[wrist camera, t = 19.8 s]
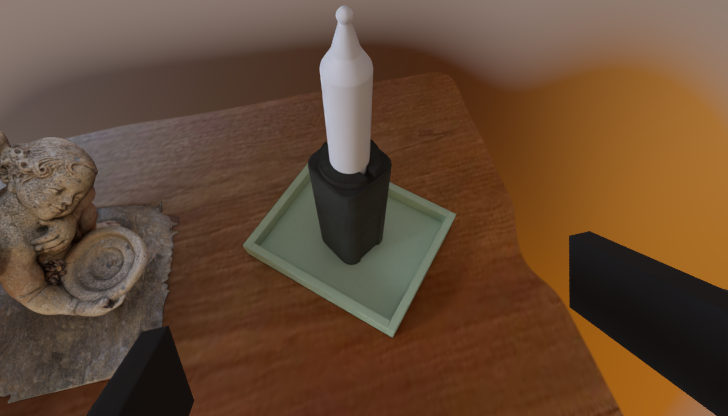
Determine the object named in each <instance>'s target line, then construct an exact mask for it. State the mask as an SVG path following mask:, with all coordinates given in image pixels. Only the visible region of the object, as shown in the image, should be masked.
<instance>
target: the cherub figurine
mask: <svg viewBox="0 0 728 416" xmlns="http://www.w3.org/2000/svg"><path fill="white" fill-rule="evenodd" d="M97 173H98V170H97V168H96V166H95V163H94V161H93V160H92V158H91V157H90V156H89V155H88V154H87V153H86V152H85V151H84V150H83V149H82V148H80V147H79V146H77V145H76V144H74V143H72V142H71V141H69V140H66V139H62V138H55V137H48V138H42V139H39V140H37V141H34V142H30V143H20V144H17V145H14V146H12V147H11V145H10V143H9V141H8V139H7V138H6V136H5V135H4V133H3V132H2V131H1V130H0V178H1V181H2V182H3V183H4V184H6V185H7V186H6V187H4V188H3V189H1V190H0V397H1V396H3V397H5V396H7V395H11V397H10V399H9V400H8V403H12V402H16V401H21V400H25V399H29V398H33V397H37V396H41V395H45V394H49V393H53V392H58V391H62V390H66V389H70V388H74V387H78V386H82V385H86V384H90V383H95V382H99V381H103V380H107V379H111V377H112V376H113V374H114V373H115V371H116V370H117V368H118V367H119V365H120V364H121V362H122V361H123V359H124V358H125V356H126V355H127V353H128V352H129V350H130V349H131V347H132V346H133V344H134V342H135V341H136V339H137V338H138V336H139V335H140V333H141V332H142V331H147V330H151V329H156V328H160V327H162V323H163V322H162V319H163V305H164V303H165V298H166V297H167V294H168V292H169V291H170V290H167V287H168V284H165V283H164V282H165V281H166V280H168V279H169V277H168V276H167V275H168V274H169V272H170V271H171V269H170V267H171V261H172V259H173V258H172V257H171V256H172V254H173V252H172V251H173V250H172V248H174V247H173V246H174V244H173V241H172V240H173V239H172V236H174V235H175V234H177V233H178V231H173V229H172V226H174V225H178V224H179V217H176V216H171V215H166V214H163V213H162V201H161V203H160V204H159V205H158V206H157V207H148V206H145V205H143V206H140V205H138V206H118V207H106V208H100V209H96V208H95V206H94V205H93V204H92V203H91V202H92V201H93V199H94V197H95V189H94V187H93V185H94V181H95V177H96V175H97Z"/></svg>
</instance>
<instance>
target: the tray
mask: <svg viewBox="0 0 728 416" xmlns="http://www.w3.org/2000/svg"><path fill="white" fill-rule="evenodd" d="M455 217H456V214H455V213H453V212H451V211H449V210H447V209H445V208H442V207H440V206H438V205H436V204H434V203H432V202H430V201H428V200H426V199H424V198H422V197H419V196H417V195H415V194H413V193H411V192H409V191H407V190H405V189H403V188H401V187H399V186H396V185H394V184H392V183H390V182H389V191H388V199H387V207H386V215H385V223H384V231H383V239H382V242H381V243H380V244H379V245H375V246H374V247H373V248H372V249H371V250H370V251H369V252H368V253H366V254H365V255H364V256H363V257H362V258H361V261H360V262H359V263H357V264H355V265H348V264H346V263H344V262H343V261H342V260H341V259H340V258H339V257H338V256H337V255H336V254H335V253H334V252H333V251H332V250H331V249H330V248H329V247H328V246H327V245H326V244H325V243H324V242H323V239H322V235H321V230H320V225H319V220H318V215H317V210H316V205H315V199H314V194H313V189H312V184H311V179H310V174H309V169H308V164H307V165H306V166H305V167H304V169H303V170H302V171H301V172H300V174H299V175H298V176H297V177H296V179H295V180H294V181H293V182H292V184H291V185H290V186H289V187H288V189H287V190H286V191H285V192H284V194H283V195H282V196H281V198H280V199H279V200H278V201H277V203H276V204H275V205H274V206H273V208H272V209H271V210H270V211H269V213H268V214H267V215H266V216H265V218H264V219H263V220H262V221H261V223H260V224H259V225H258V226H257V228H256V229H255V230H254V232H253V233H252V234H251V235H250V237H249V238H248V239H247V240H246V242H245V243H244V244H243V247H244V248H245V250H246V251H247V253H248V254H250V255H252V256H253V257H255V258H257V259H258V260H260V261H262V262H264V263H265V264H267V265H269V266H270V267H272V268H274V269H276V270H277V271H279V272H281V273H282V274H284V275H286V276H288V277H289V278H291V279H293V280H294V281H296V282H298V283H300V284H301V285H303V286H305V287H306V288H308V289H310V290H312V291H313V292H315V293H317V294H318V295H320V296H322V297H324V298H325V299H327V300H329V301H330V302H332V303H334V304H336V305H337V306H339V307H341V308H342V309H344V310H346V311H348V312H349V313H351V314H353V315H354V316H356V317H358V318H360V319H361V320H363V321H365V322H366V323H368V324H370V325H372V326H373V327H375V328H377V329H378V330H380V331H382V332H384V333H385V334H387V335H389V336H390V337H392V338H393V337H394V335H395V333H396V331H397V329H398V327H399V325H400V323H401V321H402V319H403V318H404V316H405V314H406V312H407V310H408V308H409V306H410V304H411V302H412V300H413V298H414V296H415V294H416V293H417V291H418V289H419V287H420V285H421V283H422V281H423V279H424V277H425V275H426V273H427V271H428V270H429V268H430V266H431V264H432V262H433V260H434V258H435V256H436V254H437V252H438V250H439V248H440V246H441V245H442V243H443V241H444V239H445V237H446V235H447V233H448V231H449V229H450V227H451V225H452V223H453V221H454V219H455Z"/></svg>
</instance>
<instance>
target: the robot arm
mask: <svg viewBox="0 0 728 416" xmlns="http://www.w3.org/2000/svg"><path fill="white" fill-rule="evenodd" d="M569 270H570V271H569V277H570V279H569V283H570V284H569V287H570V289H569V292H570V308H572V309H573V310H574V311H576V312H577V313H579V314H580V315H581V316H582V317H584V318H585V319H586V320H588V321H589V322H590V323H592V324H593V325H595V326H596V327H597V328H599V329H600V330H601V331H603V332H604V333H606V334H607V335H608V336H609V337H611V338H612V339H614V340H615V341H616V342H618V343H619V344H620V345H622V346H623V347H624V348H626V349H627V350H628V351H630V352H631V353H632V354H634V355H635V356H637V357H638V358H639V359H641V360H642V361H643V362H645V363H646V364H648V365H649V366H650V367H651V368H653V369H654V370H656V371H657V372H658V373H660V374H661V375H662V376H664V377H665V378H667V379H668V380H669V381H670V382H672V383H673V384H674V385H676V386H677V387H678V388H680V389H681V390H683V391H684V392H686V393H687V394H688V395H689V396H691V397H692V398H694V399H695V400H696V401H698V402H699V403H700V404H702V405H703V406H704V407H706V408H707V409H708V410H710V411H711V412H713V413H714V414H715V415H716V416H728V290H725V289H722V288H719V287H716V286H714V285H712V284H710V283H708V282H705V281H703V280H701V279H698V278H695V277H694V276H691V275H689V274H687V273H684V272H682V271H680V270H678V269H675V268H673V267H670V266H668V265H666V264H664V263H661V262H659V261H657V260H654V259H652V258H650V257H647V256H645V255H643V254H640V253H638V252H636V251H634V250H631V249H629V248H627V247H625V246H622V245H620V244H617V243H615V242H613V241H611V240H608V239H606V238H604V237H601V236H599V235H597V234H595V233H592V232H590V231H589V232H585V233H580V234H576V235H571V236H569ZM193 402H194V399H193V396H192V393H191V390H190V387H189V384H188V381H187V378H186V375H185V373H184V370H183V367H182V364H181V361H180V358H179V355H178V352H177V349H176V346H175V343H174V340H173V337H172V334H171V331H170V329H169V326H165V327H160V328H156V329H151V330H147V331H142V332H141V333H140V335H139V336H138V338H137V339H136V341H135V342H134V344H133V346H132V347H131V349H130V350H129V352H128V353H127V355H126V356H125V358H124V359H123V361H122V362H121V364H120V365H119V367H118V368H117V370H116V371H115V373H114V374H113V376H112V377H111V379H110V380H109V382H108V383H107V385H106V387H105V388H104V390H103V391H102V393H101V394H100V396H99V397H98V399H97V400H96V402H95V403H94V405H93V406H92V408H91V409H90V411H89V412H88V414H87V415H86V416H189V414H190V411H191V408H192V405H193Z"/></svg>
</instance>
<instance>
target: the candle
mask: <svg viewBox="0 0 728 416" xmlns="http://www.w3.org/2000/svg"><path fill="white" fill-rule="evenodd" d="M336 19H337V20H338V24H337V28H336V31H335V35H334V38H333V42H332V46H331V48H330V49H329V51H328V52H327V53H326V55H325V56H324V57H323V59H322V60H321V64H320V77H321V86H322V95H323V104H324V113H325V123H326V132H327V141H328V143H326V142H325V143H324V144H323V145H322V147H321V148H320V149H319V150H318V151H316V152H315V153H313V154H312V155H311V156H310V158H309V161H308V169H309V174H310V179H311V184H312V189H313V194H314V199H315V205H316V210H317V215H318V220H319V225H320V230H321V235H322V239H323V242H324V243H325V244H326V245H327V246H328V247H329V248H330V249H331V250H332V251H333V252H334V253H335V254H336V255H337V256H338V257H339V258H340V259H341V260H342V261H343V262H344V263H346V264H348V265H355V264H357V263H359V262H360V261H361V258H362V257H363V256H364V255H365V254H366V253H368V252H369V251H370V250H371V249H372V248H373V247H374V246H375V245H379V244H380V243H381V242H382V239H383V231H384V223H385V215H386V207H387V199H388V191H389V182H390V174H391V166H392V164H391V160H390V158H389V157H388V156H387V155H386V154H385V153H384V152H382V151H381V150H380V149H379V148H378V146H377V145H376V144H375V143H374V142H373V141H372V140H371V139H370V138H371V112H372V86H373V65H372V61H371V59H370V58H369V56H368V55H367V54H366V52H365V51H364V50H363V49H362V48H361V47H360V44H359V41H358V39H357V36H356V33H355V30H354V27H353V25H352V22H351V21H352V19H353V11H352V10H351V9H350V8H349V7H348V6H341V7H340V8H339V9H338V10H337V11H336Z"/></svg>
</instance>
